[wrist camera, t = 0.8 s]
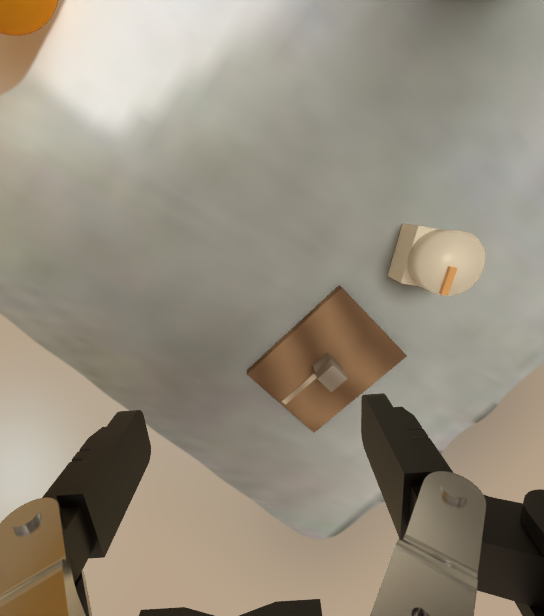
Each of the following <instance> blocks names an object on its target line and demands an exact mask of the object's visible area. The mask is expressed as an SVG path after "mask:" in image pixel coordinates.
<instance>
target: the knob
mask: <svg viewBox="0 0 544 616" xmlns="http://www.w3.org/2000/svg"><path fill="white" fill-rule="evenodd" d="M484 265H485V252H484V248H483V246H482V244H481V242H480V241H479V240H478V239H477V238H476V237H475V236H474V235H472V234H470V233H468V232H464V231H456V230H446V229H435V228H430V227H424V226H419V225H409V224H402V227H401V231H400V234H399V238H398V241H397V245H396V248H395V252H394V255H393V259H392V262H391V266H390V269H389V272H388V277H390V278H392V279H394V280H396V281H398V282H400V283H403V284H408V285H414V286H420V287H422V288H424V289H426V290H429V291H431V292H433V293H435V294H437V295H441V296H453V295H457V294H460V293H462V292H464V291H466V290H468V289H469V288H470V287H471V286H473V285H474V284H475V282H476V281H477V280H478V279H479V277H480V275H481V274H482V271H483V268H484Z"/></svg>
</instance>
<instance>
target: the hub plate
mask: <svg viewBox="0 0 544 616" xmlns="http://www.w3.org/2000/svg"><path fill="white" fill-rule="evenodd" d="M406 356H407V355H406V354H405V353H404V352H403V351H402V350H401V349H400V348H399V347H398V346H397V345H396V344H395V343H394V342H393V341H392V340H391V339H390V338H389V337H388V335H387V334H386V333H385V332H384V331H383V330H382V329H381V328H380V327H379V326H378V325H377V324H376V323H375V322H374V321H373V320H372V319H371V318H370V317H369V316H368V314H367V313H366V312H365V311H364V310H363V309H362V308H361V307H360V306H359V305H358V304H357V303H356V302H355V301H354V300H353V299H352V298H351V297H350V296H349V294H348V293H347V292H346V291H345V290H344V289H343V288H342V287H341V286H340V285H339V286H338V287H337V288H336V289H335V290H334V291H333V292H332V293H331V294H330V295H329V296H327V297H326V298H325V299H324V300H323V301H322V302H321V303H320V304H319V305H318V306H317V307H316V308H314V309H313V310H312V311H311V312H310V313H309V314H308V315H307V316H306V317H305V318H304V319H303V320H301V321H300V322H299V323H298V324H297V325H296V326H295V327H294V328H293V329H292V330H291V331H289V332H288V333H287V334H286V335H285V336H284V337H283V338H282V339H281V340H280V341H279V342H278V343H276V344H275V345H274V346H273V347H272V348H271V349H270V350H269V351H268V352H267V353H266V354H265V355H263V356H262V357H261V358H260V359H259V360H258V361H257V362H256V363H255V364H254V365H253V366H252V367H250V368H249V369H248V372H247V375H249V376H250V377H251V378H252V379H253V380H254V381H255V382H257V383H258V384H259V385H260V386H261V387H262V388H263V389H265V390H266V391H267V392H268V393H269V394H270V395H272V396H273V397H274V398H275V399H276V400H277V401H278V402H280V403H281V404H282V405H283V406H284V407H285V408H286V409H288V410H289V411H290V412H291V413H292V414H293V415H294V416H296V417H297V418H298V419H299V420H300V421H301V422H302V423H304V424H305V425H306V426H307V427H308V428H309V429H311V430H312V431H313V432H315V431H316V430H318V429H319V428H320V427H321V426H322V425H324V424H325V423H326V422H327V421H329V420H330V419H331V418H332V417H333V416H335V415H336V414H337V413H338V412H339V411H341V410H342V409H343V408H344V407H346V406H347V405H348V404H349V403H350V402H352V401H353V400H354V399H355V398H357V397H358V396H359V395H360V394H361V393H363V392H364V391H365V390H366V389H367V388H369V387H370V386H371V385H372V384H374V383H375V382H376V381H377V380H378V379H380V378H381V377H382V376H383V375H385V374H386V373H387V372H388V371H389V370H391V369H392V368H393V367H394V366H395V365H397V364H398V363H399V362H400V361H402V360H403V359H404V358H405V357H406Z"/></svg>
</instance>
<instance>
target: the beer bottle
mask: <svg viewBox="0 0 544 616" xmlns="http://www.w3.org/2000/svg"><path fill="white" fill-rule="evenodd" d="M57 3H58V0H0V33H3V34H7V35H25V34H30V33H32V32H34V31H37V30H38V29H40V28H41V27H42V26H44V25H45V24H46V23H47V22H48V20H49V19H50V18H51V17H52V15H53V13H54V11H55V9H56V6H57Z"/></svg>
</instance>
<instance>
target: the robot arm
mask: <svg viewBox="0 0 544 616" xmlns="http://www.w3.org/2000/svg"><path fill="white" fill-rule="evenodd" d="M361 433H362V441H363V445H364V449H365V452H366V454H367V457H368V459H369V462H370V464H371V467H372V469H373V472H374V475H375V477H376V480H377V482H378V485H379V487H380V490H381V492H382V495H383V498H384V500H385V503H386V505H387V508H388V510H389V513H390V515H391V518H392V520H393V523H394V525H395V528H396V531H397V533H398V536H399V540H398V541H397V543H396V546H395V548H394V551H393V554H392V557H391V560H390V562H389V565H388V568H387V571H386V573H385V576H384V579H383V582H382V584H381V587H380V590H379V593H378V595H377V598H376V601H375V604H374V606H373V609H372V612H371V615H370V616H474V609H475V601H476V593H477V590H478V591H481V592H485V593H488V594H492V595H495V596H499V597H502V598H505V599H509V600H512V601H515V603H516V605H517V607H518V608H519V610H520V612H521V614H522V615H523V616H544V490H533V491H530V492H528V493H527V494H526V495H525V498H524V502H523V504H522V503H517V502H512V501H507V500H502V499H497V498H493V497H488V496H486V495H483V494H482V492H481V491H480V490H479V489H478V487H477V486H476V485H474V484H473V483H472V482H470V481H469V480H468V479H466V478H464V477H462V476H460V475H458V474H455V473H453V471H452V470H451V469H450V467H449V466H448V464H447V463H446V461H445V460H444V458H443V457H442V455H441V454H440V453H439V451H438V450H437V448H436V447H435V445H434V444H433V442H432V441H431V440H430V438H428V435H427V434H426V432H425V431H424V429H422V426H421V425H420V424H419V422H418V421H417V419H416V418H415V416H414V415H412V414H411V413H410V412H408V411H407V410H405V409H404V408H403V407H393V406H392V405H391V403H390V401H389V400H388V398H387V396H386V395H385V394H384V393H383V394H369V395H363V396H362V417H361ZM150 455H151V445H150V441H149V437H148V432H147V428H146V424H145V419H144V415H143V413H142V411H140V410H135V411H121V412H118V413H117V414H116V415H115V416H114V417H113V419H112V420H111V421H110V423H109V424H108V426H107V427H102V428H101V429H100V430H98V431H97V432H96V433H94V434H93V435H92V436H90V437H89V438H88V439H87V441H86V442H85V443H84V445H83V446H82V447H81V449H80V451H79V452H77V454H76V455H75V456H74V457H73V459H72V462H70V463H69V464H68V465H67V466H66V468H65V469H64V470H63V472H62V473H61V474H60V476H59V477H58V478H57V479H56V481H55V482H54V483H53V484H52V486H51V487H50V488H49V490H48V491H47V492H46V493H45V495H44V496H43V497H42V498H40V499H36V500H33V501H31V502H28V503H26V504H24V505H22V506H20V507H19V508H17V509H16V510H14V511H13V512H12V513H10V514H9V515H8V516H7V517H6V518H5V519H4V520H3V521H2V522H1V523H0V616H92V612H91V607H90V602H89V596H88V591H87V586H86V581H85V575H84V573H83V570H82V569H83V568H84V566H85V563H86V562H87V560H88V558H101V557H105V555H106V553H107V551H108V549H109V546H110V544H111V542H112V540H113V538H114V536H115V534H116V532H117V529H118V527H119V525H120V523H121V521H122V519H123V517H124V514H125V512H126V510H127V508H128V506H129V504H130V502H131V500H132V497H133V495H134V493H135V491H136V489H137V487H138V485H139V482H140V480H141V478H142V476H143V474H144V472H145V469H146V468H147V465H148V463H149V460H150ZM139 616H214V615H210V614H206V613H203V612H199V611H196V610H192V609H189V608H185V607H183V608H167V609H150V610H141V612H140V615H139ZM240 616H322V611H321V603H320V599H313V600H297V601H281V602H274V603H272V604H269V605H266V606H263V607H261V608H258V609H255V610H253V611H250V612H248V613H245V614H242V615H240Z"/></svg>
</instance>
